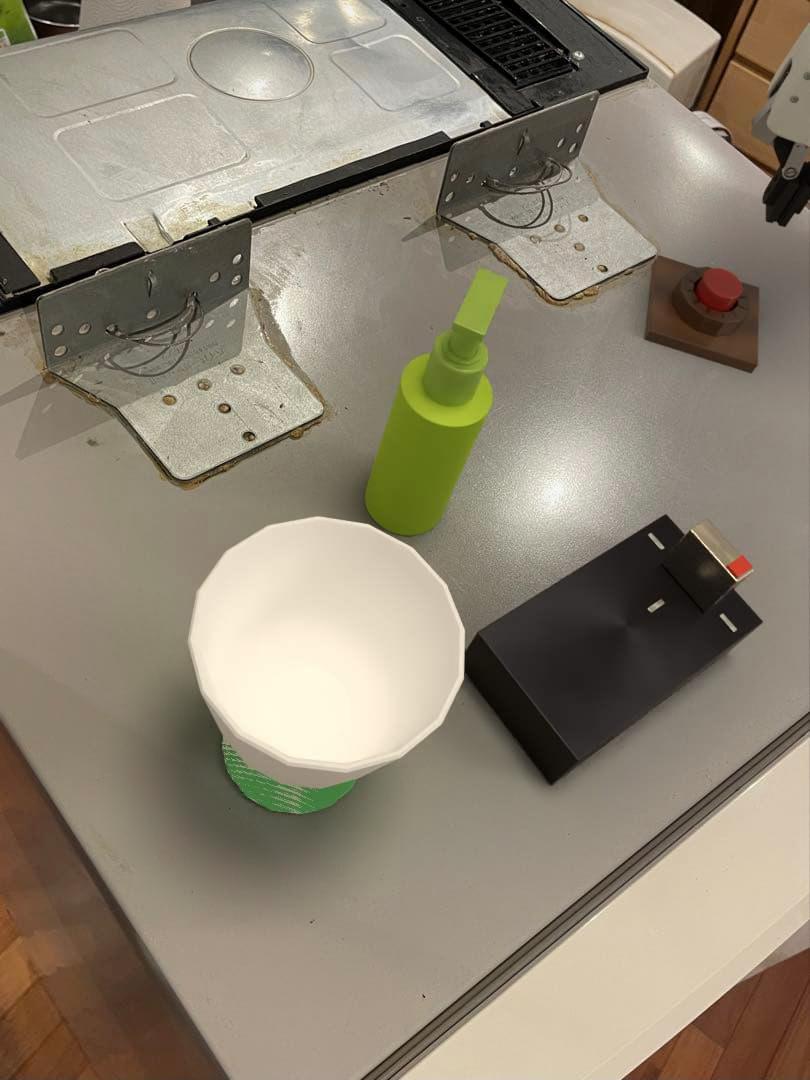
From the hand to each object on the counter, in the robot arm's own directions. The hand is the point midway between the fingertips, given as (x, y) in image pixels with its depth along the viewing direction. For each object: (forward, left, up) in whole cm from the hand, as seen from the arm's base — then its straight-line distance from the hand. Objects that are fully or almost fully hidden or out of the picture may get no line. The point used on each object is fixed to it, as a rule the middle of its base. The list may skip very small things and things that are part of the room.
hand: (775, 213), depth 79 cm
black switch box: (+19, +32, -12) cm, 40 cm away
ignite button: (+1, 0, -9) cm, 9 cm away
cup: (+41, +37, -12) cm, 56 cm away
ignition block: (+1, 0, -12) cm, 12 cm away
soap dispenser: (+31, +19, -12) cm, 38 cm away
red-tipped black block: (+14, +29, -7) cm, 33 cm away
